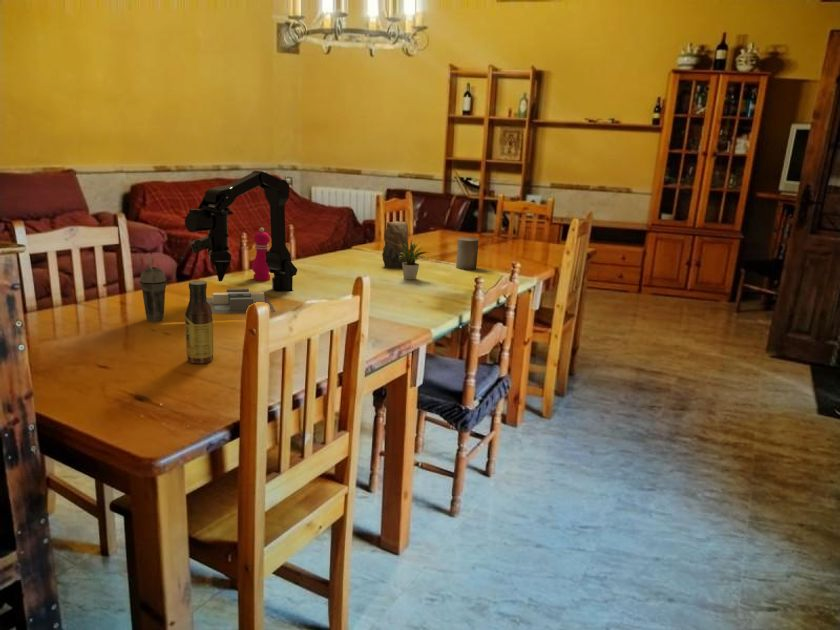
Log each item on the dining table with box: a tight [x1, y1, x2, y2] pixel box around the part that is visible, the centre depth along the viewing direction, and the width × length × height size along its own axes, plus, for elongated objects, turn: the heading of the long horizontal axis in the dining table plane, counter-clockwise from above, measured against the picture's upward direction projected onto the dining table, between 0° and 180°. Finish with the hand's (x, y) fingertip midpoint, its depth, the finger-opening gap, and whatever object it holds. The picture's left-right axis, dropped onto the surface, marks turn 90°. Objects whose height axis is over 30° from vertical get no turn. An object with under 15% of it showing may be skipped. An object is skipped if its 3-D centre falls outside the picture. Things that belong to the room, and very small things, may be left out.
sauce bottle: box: [184, 279, 214, 365], centre depth 151 cm, size 7×6×20 cm
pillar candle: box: [455, 236, 480, 271], centre depth 291 cm, size 10×10×15 cm
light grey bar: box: [212, 291, 265, 304], centre depth 206 cm, size 16×3×3 cm, turn 111°
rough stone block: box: [381, 220, 410, 270], centre depth 285 cm, size 13×13×20 cm
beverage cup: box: [139, 252, 168, 323], centre depth 181 cm, size 7×7×20 cm
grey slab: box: [206, 288, 276, 315], centre depth 203 cm, size 20×20×4 cm
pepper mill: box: [251, 227, 271, 282], centre depth 241 cm, size 7×7×20 cm
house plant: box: [396, 239, 430, 280], centre depth 259 cm, size 14×14×16 cm
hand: (219, 277), depth 202 cm, fingers open, 9 cm apart
